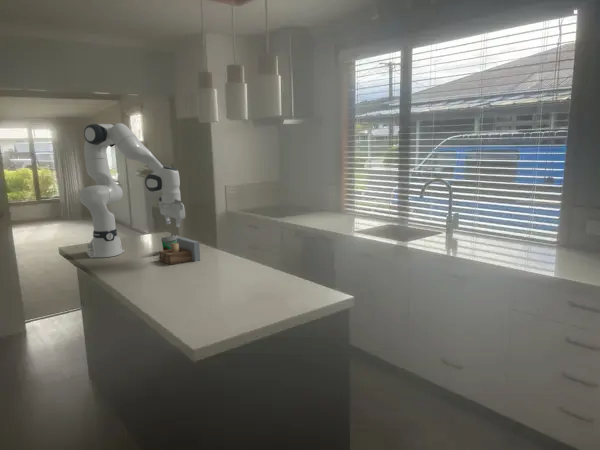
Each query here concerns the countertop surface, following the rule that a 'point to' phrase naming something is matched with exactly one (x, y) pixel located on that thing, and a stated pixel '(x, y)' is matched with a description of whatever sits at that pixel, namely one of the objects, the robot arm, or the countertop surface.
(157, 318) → the countertop surface
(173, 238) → the green rounded container
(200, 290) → the countertop surface
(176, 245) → the dowel
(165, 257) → the block
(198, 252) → the wall
